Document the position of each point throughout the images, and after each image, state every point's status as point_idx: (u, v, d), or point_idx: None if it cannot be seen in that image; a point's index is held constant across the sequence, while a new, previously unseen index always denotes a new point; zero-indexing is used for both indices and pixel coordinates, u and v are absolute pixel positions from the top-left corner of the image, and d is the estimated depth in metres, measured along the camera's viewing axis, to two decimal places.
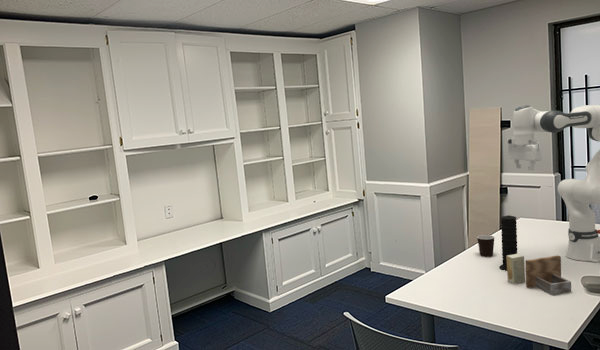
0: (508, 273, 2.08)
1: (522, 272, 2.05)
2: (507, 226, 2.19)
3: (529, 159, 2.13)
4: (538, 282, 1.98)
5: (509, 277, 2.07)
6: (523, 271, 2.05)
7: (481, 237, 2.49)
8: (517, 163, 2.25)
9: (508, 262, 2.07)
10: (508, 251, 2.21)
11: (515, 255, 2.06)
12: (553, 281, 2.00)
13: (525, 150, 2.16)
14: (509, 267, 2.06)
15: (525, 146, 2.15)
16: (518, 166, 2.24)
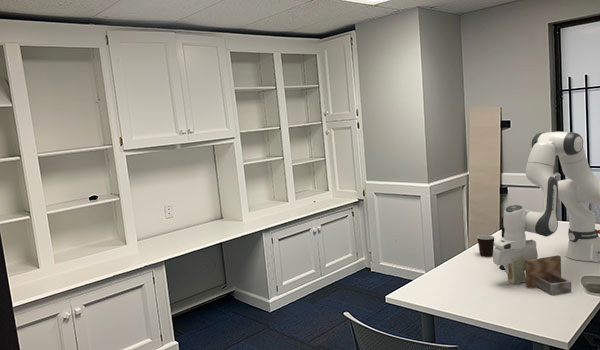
0: (508, 273, 2.08)
1: (522, 272, 2.05)
2: None
3: (530, 259, 2.06)
4: (538, 282, 1.98)
5: (509, 277, 2.07)
6: (523, 271, 2.05)
7: (481, 237, 2.49)
8: None
9: None
10: None
11: None
12: (553, 281, 2.00)
13: (523, 251, 2.05)
14: (509, 267, 2.06)
15: (524, 247, 2.05)
16: None
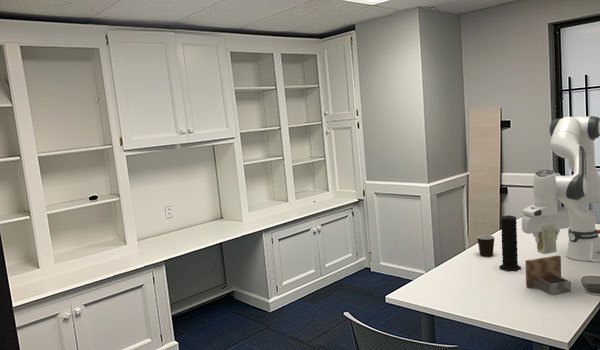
0: (538, 243, 1.96)
1: (553, 241, 1.93)
2: (507, 226, 2.19)
3: (562, 227, 1.94)
4: (538, 282, 1.98)
5: (539, 247, 1.95)
6: (554, 241, 1.93)
7: (481, 237, 2.49)
8: None
9: None
10: (508, 251, 2.21)
11: None
12: (553, 281, 2.00)
13: (555, 219, 1.93)
14: (539, 237, 1.94)
15: (556, 214, 1.92)
16: None
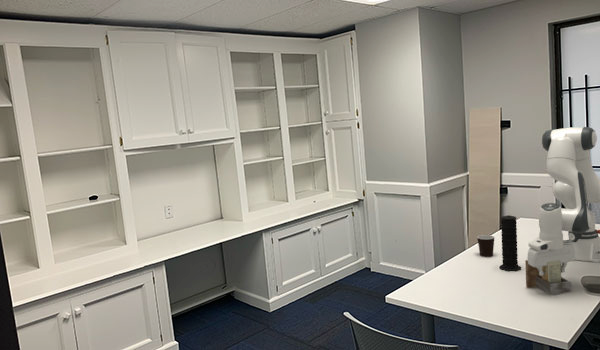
0: (543, 278, 1.96)
1: (558, 277, 1.94)
2: (507, 226, 2.19)
3: (567, 260, 1.94)
4: (538, 282, 1.98)
5: None
6: (559, 276, 1.94)
7: (481, 237, 2.49)
8: None
9: (543, 267, 1.95)
10: (508, 251, 2.21)
11: None
12: None
13: (560, 252, 1.93)
14: None
15: (561, 248, 1.93)
16: None
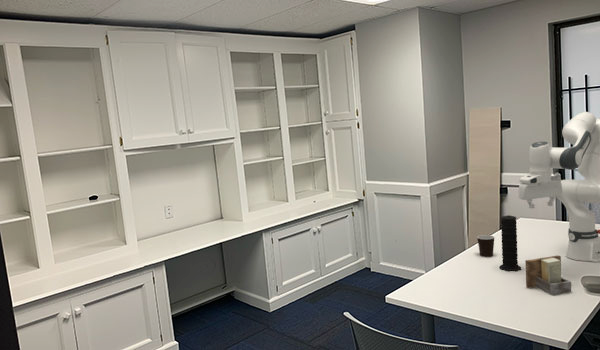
0: (543, 278, 1.96)
1: (558, 277, 1.94)
2: (507, 226, 2.19)
3: (555, 194, 2.11)
4: (538, 282, 1.98)
5: None
6: (559, 276, 1.94)
7: (481, 237, 2.49)
8: None
9: (543, 267, 1.95)
10: (508, 251, 2.21)
11: (551, 259, 1.95)
12: None
13: (549, 186, 2.10)
14: (544, 272, 1.95)
15: (550, 182, 2.10)
16: None
